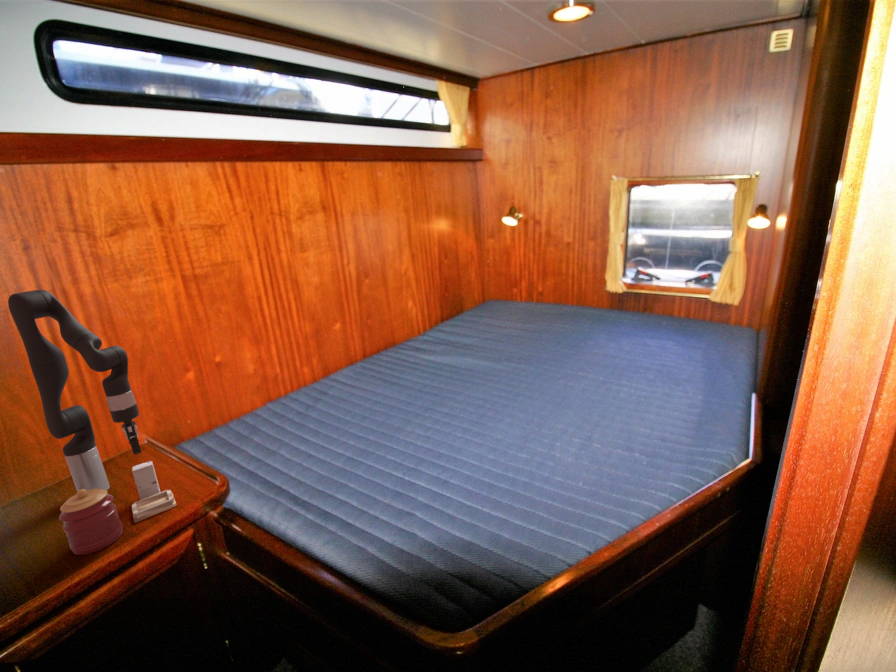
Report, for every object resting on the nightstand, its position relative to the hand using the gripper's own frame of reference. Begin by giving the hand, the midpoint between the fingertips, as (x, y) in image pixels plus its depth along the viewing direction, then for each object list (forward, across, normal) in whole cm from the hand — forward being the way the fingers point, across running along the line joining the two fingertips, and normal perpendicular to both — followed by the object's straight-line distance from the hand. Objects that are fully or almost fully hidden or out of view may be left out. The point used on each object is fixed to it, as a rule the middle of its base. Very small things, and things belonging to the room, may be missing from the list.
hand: (136, 449), depth 156 cm
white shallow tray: (+18, +10, 0) cm, 21 cm away
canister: (+19, +17, -15) cm, 30 cm away
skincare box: (+18, 0, 0) cm, 19 cm away
